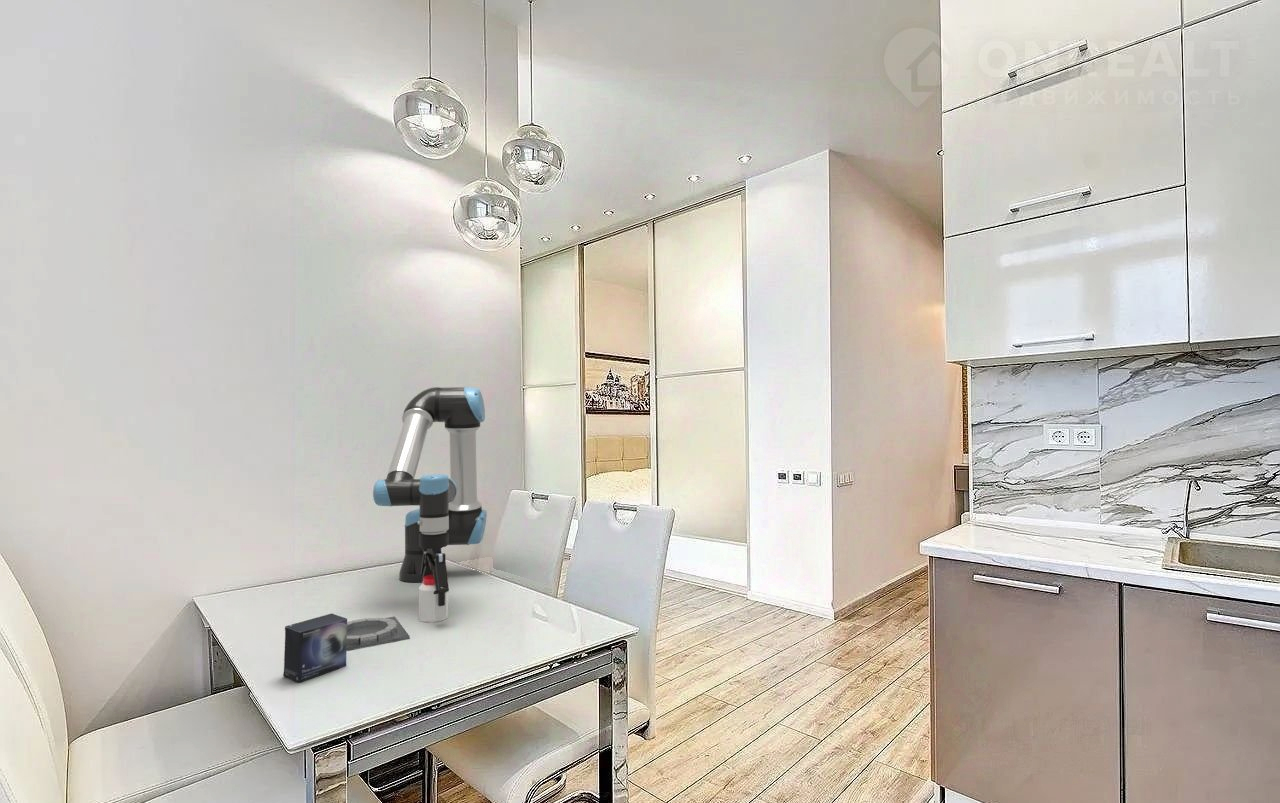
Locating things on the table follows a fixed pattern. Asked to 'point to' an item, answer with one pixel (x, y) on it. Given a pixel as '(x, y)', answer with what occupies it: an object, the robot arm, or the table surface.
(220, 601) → the table surface
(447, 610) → the pill bottle
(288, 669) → the small box
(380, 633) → the ring seat
